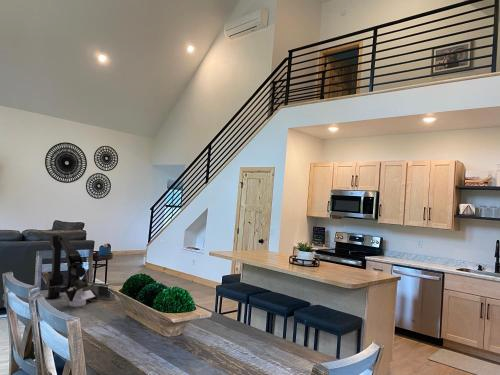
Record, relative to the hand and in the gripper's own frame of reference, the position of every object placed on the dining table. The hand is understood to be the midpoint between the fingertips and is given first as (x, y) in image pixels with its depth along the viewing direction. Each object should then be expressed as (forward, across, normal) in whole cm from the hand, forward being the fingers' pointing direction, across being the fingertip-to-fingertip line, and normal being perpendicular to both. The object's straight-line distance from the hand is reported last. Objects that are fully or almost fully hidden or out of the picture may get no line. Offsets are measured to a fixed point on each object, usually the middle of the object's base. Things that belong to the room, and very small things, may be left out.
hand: (71, 301), depth 211 cm
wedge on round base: (+3, +7, 0) cm, 8 cm away
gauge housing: (+3, +21, 0) cm, 22 cm away
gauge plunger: (+2, +17, 0) cm, 18 cm away
